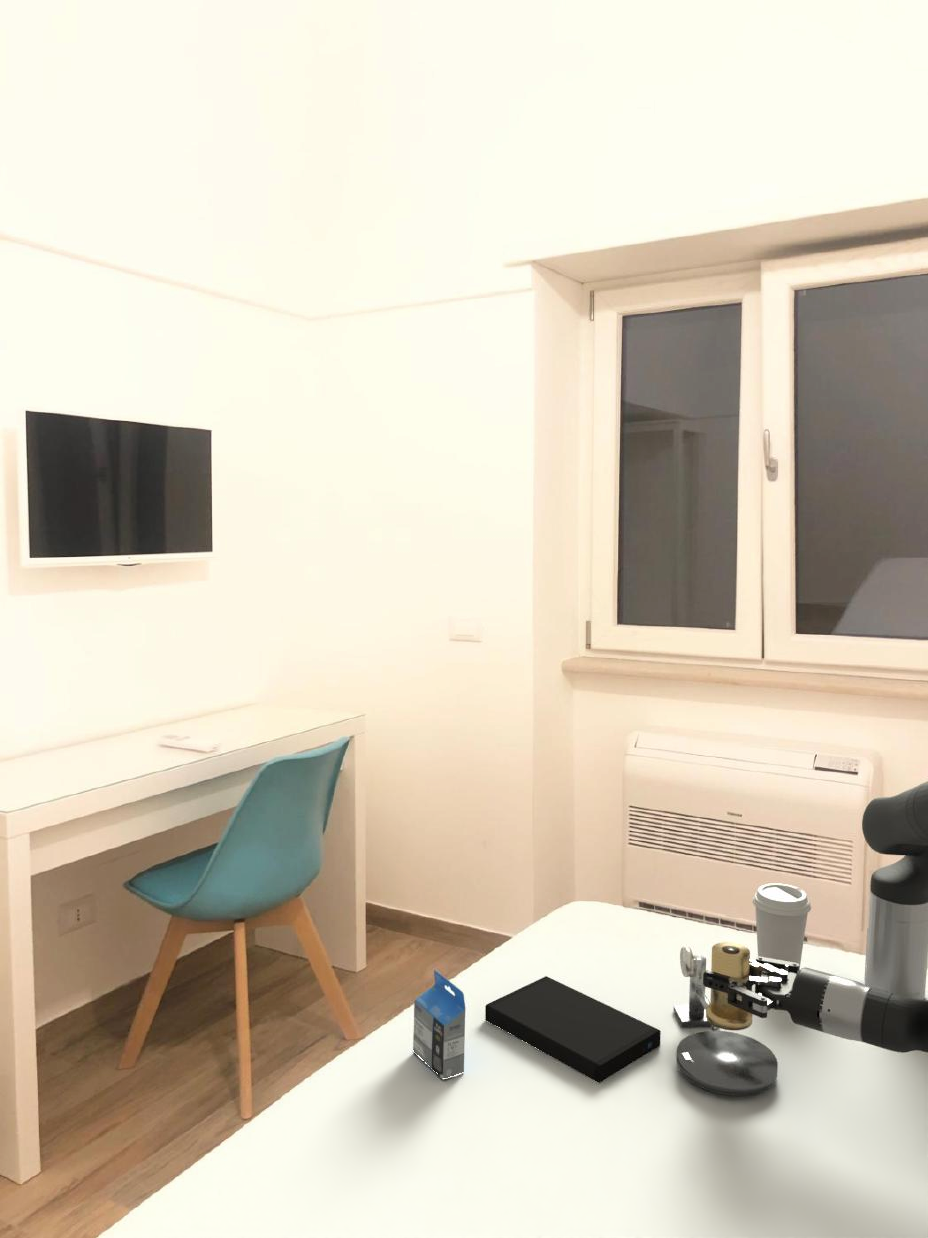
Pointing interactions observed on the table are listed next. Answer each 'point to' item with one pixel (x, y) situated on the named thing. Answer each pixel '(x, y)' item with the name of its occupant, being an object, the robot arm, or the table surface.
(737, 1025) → the brass cover
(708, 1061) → the turntable platter
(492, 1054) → the table surface
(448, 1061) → the label tape box
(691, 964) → the dial gauge stand
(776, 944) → the coffee cup
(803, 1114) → the table surface
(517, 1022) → the external hard drive
